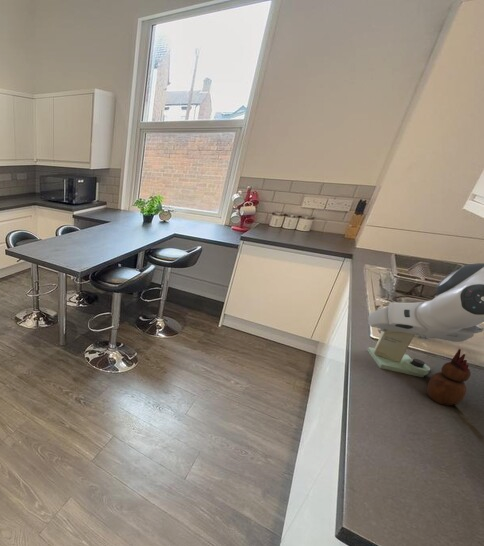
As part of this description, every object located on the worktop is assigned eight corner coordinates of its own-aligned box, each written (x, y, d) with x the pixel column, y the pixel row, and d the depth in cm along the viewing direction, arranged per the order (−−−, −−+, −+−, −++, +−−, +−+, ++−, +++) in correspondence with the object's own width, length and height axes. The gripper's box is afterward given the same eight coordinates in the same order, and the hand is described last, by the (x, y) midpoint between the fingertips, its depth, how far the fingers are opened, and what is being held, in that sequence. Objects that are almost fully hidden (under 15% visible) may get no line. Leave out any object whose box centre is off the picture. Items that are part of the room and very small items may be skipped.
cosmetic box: (373, 354, 99) (388, 321, 94) (373, 348, 102) (388, 316, 97) (401, 363, 95) (418, 329, 90) (400, 356, 98) (416, 323, 93)
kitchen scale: (410, 359, 99) (414, 351, 98) (429, 380, 90) (434, 372, 89) (367, 350, 103) (370, 342, 102) (381, 370, 94) (385, 361, 93)
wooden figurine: (420, 387, 87) (445, 343, 81) (450, 397, 84) (478, 351, 78) (427, 402, 82) (454, 355, 76) (459, 412, 79) (490, 365, 73)
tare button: (419, 364, 93) (422, 360, 92) (424, 369, 91) (426, 364, 90) (409, 362, 93) (411, 357, 93) (413, 366, 91) (415, 362, 91)
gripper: (486, 316, 79) (446, 330, 91) (384, 300, 87) (358, 315, 99) (490, 340, 77) (448, 351, 89) (384, 322, 85) (359, 334, 97)
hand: (400, 332), depth 94 cm, fingers open, 8 cm apart
